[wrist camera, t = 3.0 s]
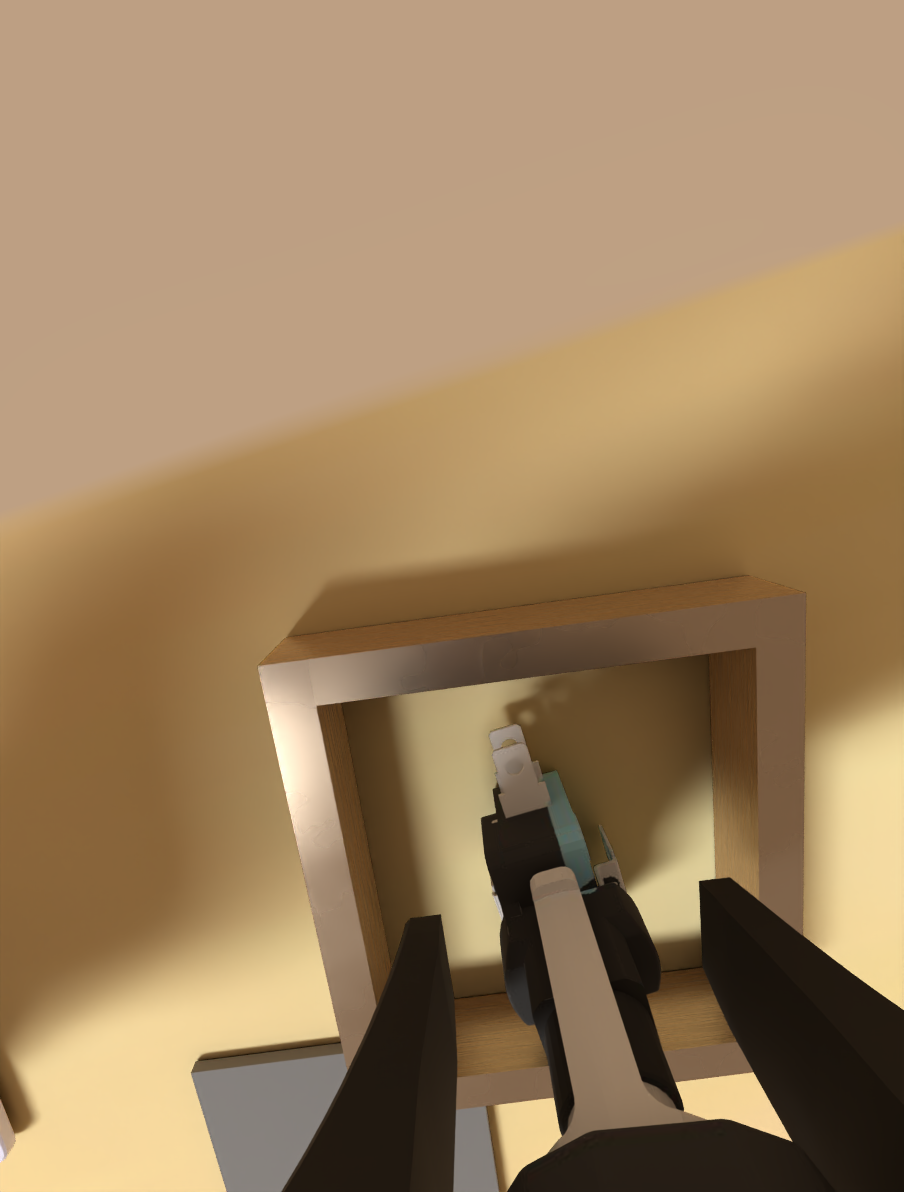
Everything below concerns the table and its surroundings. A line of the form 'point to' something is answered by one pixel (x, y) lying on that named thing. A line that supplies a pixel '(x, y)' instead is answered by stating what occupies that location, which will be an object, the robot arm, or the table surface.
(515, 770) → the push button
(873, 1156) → the robot arm
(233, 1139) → the mat
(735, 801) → the frame
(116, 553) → the table surface
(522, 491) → the table surface
